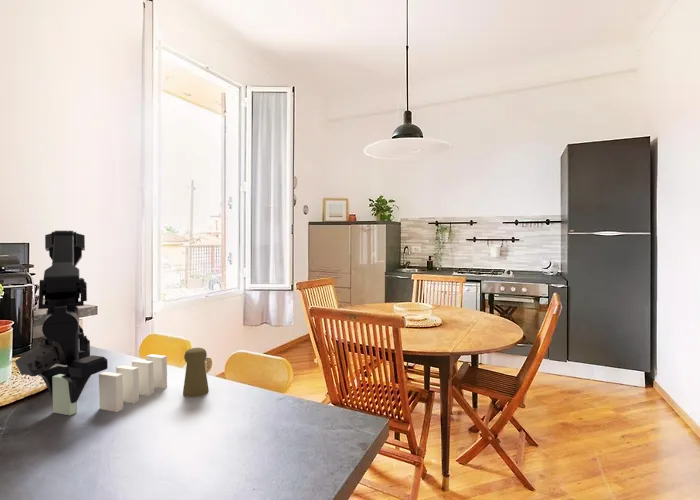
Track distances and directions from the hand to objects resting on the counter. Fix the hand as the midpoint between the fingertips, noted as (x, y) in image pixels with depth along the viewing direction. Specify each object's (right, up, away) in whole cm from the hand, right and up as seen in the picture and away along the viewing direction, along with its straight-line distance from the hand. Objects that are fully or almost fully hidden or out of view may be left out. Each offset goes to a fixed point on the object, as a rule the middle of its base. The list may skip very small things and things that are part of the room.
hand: (64, 400), depth 86 cm
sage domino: (0, -3, 0) cm, 3 cm away
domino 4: (+13, -2, +15) cm, 20 cm away
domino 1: (+9, -3, +2) cm, 10 cm away
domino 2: (+10, -3, +6) cm, 12 cm away
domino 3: (+12, -2, +11) cm, 16 cm away
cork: (+24, -3, +12) cm, 27 cm away
